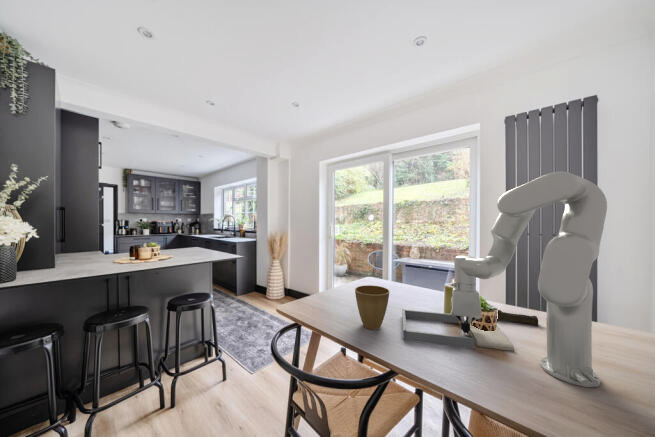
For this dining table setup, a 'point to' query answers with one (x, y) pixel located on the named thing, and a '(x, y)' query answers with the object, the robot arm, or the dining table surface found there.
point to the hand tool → (517, 318)
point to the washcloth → (491, 339)
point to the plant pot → (372, 305)
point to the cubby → (433, 337)
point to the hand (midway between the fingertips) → (465, 331)
